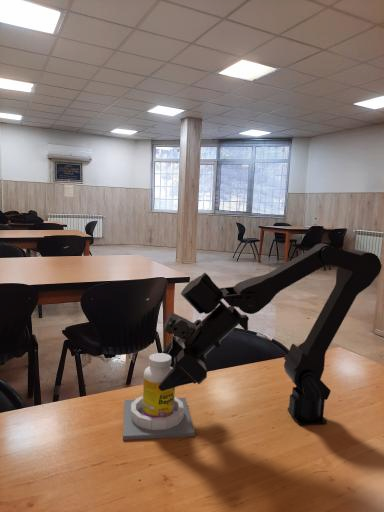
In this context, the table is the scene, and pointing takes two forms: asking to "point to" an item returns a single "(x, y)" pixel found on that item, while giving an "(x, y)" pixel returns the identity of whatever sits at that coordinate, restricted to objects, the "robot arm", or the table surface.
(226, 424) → the table surface
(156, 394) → the supplement bottle
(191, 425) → the socket plate
